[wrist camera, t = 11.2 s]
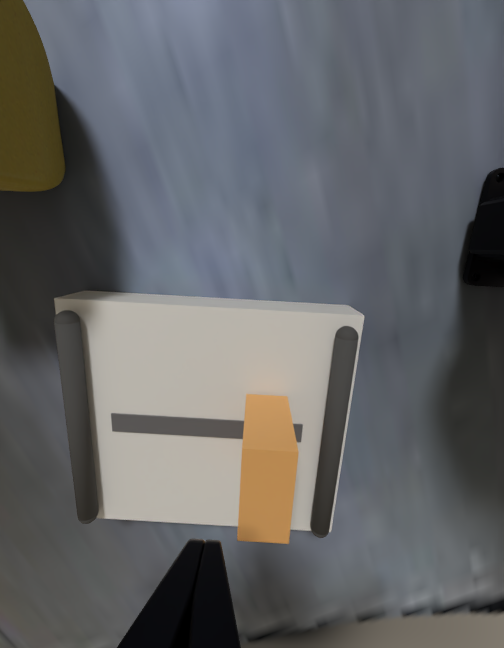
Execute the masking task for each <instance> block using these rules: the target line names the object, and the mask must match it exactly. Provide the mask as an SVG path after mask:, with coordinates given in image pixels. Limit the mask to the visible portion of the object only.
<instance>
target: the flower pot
mask: <svg viewBox="0 0 504 648" xmlns="http://www.w3.org/2000/svg"><path fill="white" fill-rule="evenodd" d="M64 174H65V161H64V154H63V146H62V140H61V134H60V127H59V119H58V111H57V104H56V96H55V87H54V82H53V78H52V74H51V70H50V66H49V63H48V59H47V55H46V52H45V49H44V46H43V43H42V41H41V38H40V35H39V33H38V30H37V28H36V26H35V24H34V21H33V19H32V17H31V15H30V13H29V11H28V9H27V7H26V5H25V3H24V1H23V0H0V190H2V191H26V192H34V191H45V190H49V189H52V188H54V187H56V186H57V185H59V184H60V183H61V181H62V180H63V177H64Z"/></svg>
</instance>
